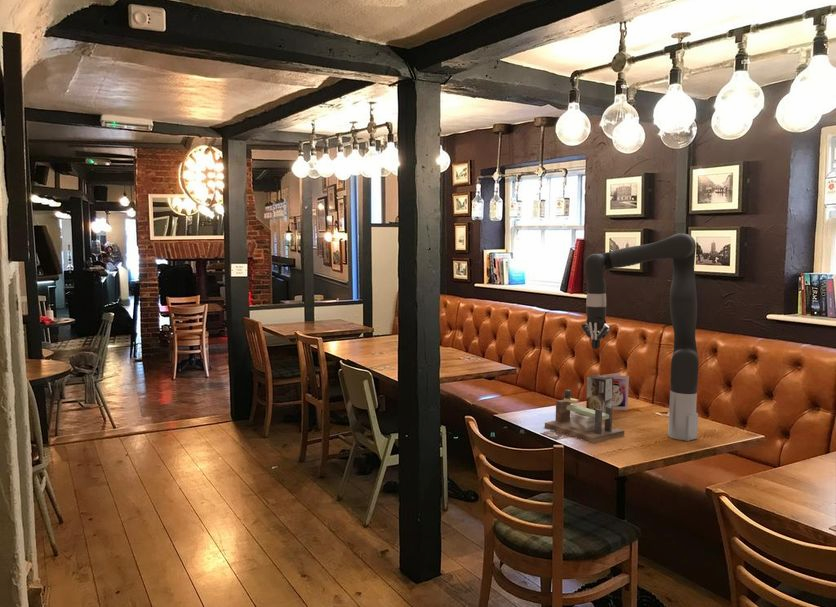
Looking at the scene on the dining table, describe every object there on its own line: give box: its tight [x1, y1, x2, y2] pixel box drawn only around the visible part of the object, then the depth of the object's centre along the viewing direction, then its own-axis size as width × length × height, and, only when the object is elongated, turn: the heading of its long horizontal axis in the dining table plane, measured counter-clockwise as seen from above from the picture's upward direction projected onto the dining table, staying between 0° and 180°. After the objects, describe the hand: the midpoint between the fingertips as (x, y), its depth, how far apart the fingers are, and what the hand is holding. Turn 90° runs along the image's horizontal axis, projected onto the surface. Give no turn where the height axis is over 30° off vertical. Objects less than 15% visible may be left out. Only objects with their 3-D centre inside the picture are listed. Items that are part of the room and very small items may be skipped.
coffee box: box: [585, 374, 613, 413], centre depth 277 cm, size 9×6×16 cm
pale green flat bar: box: [567, 403, 609, 421], centre depth 250 cm, size 17×4×2 cm, turn 36°
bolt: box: [563, 389, 580, 405], centre depth 257 cm, size 6×2×4 cm, turn 36°
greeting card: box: [601, 372, 630, 411], centre depth 288 cm, size 11×7×15 cm, turn 86°
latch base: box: [544, 398, 625, 444], centre depth 252 cm, size 24×17×11 cm
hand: (595, 348), depth 261 cm, fingers closed
